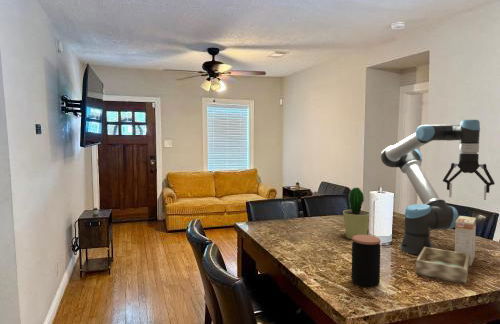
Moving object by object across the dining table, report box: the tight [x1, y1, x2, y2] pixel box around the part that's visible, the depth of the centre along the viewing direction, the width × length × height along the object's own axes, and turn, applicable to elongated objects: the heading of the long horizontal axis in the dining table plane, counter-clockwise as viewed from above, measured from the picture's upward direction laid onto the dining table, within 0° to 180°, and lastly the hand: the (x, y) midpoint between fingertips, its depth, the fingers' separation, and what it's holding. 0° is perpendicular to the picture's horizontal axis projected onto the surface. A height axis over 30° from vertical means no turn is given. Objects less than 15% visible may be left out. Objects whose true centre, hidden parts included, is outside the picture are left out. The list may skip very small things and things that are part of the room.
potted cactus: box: [342, 187, 370, 240], centre depth 195 cm, size 15×15×30 cm
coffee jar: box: [350, 234, 382, 289], centre depth 133 cm, size 11×11×18 cm
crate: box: [415, 247, 470, 285], centre depth 145 cm, size 18×22×6 cm
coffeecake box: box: [454, 215, 477, 267], centre depth 158 cm, size 15×7×20 cm, turn 141°
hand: (467, 198), depth 157 cm, fingers open, 13 cm apart
